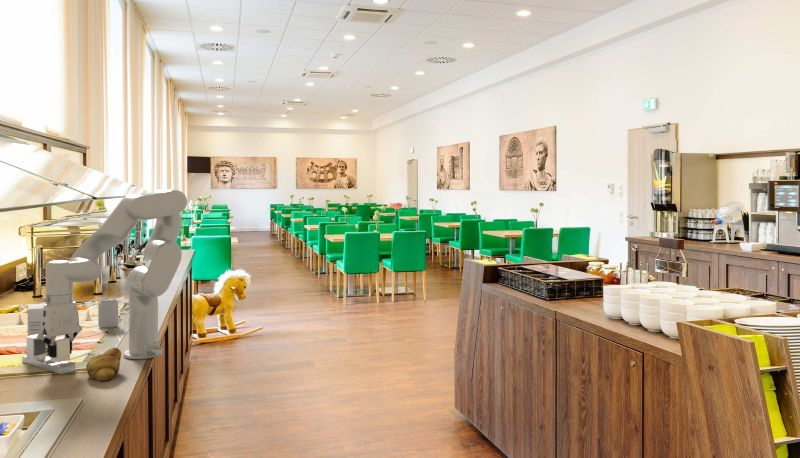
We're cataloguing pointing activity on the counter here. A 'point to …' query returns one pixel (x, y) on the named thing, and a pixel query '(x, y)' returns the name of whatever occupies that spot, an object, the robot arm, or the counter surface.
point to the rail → (44, 357)
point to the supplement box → (35, 319)
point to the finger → (62, 349)
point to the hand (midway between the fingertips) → (60, 354)
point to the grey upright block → (108, 313)
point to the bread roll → (104, 365)
